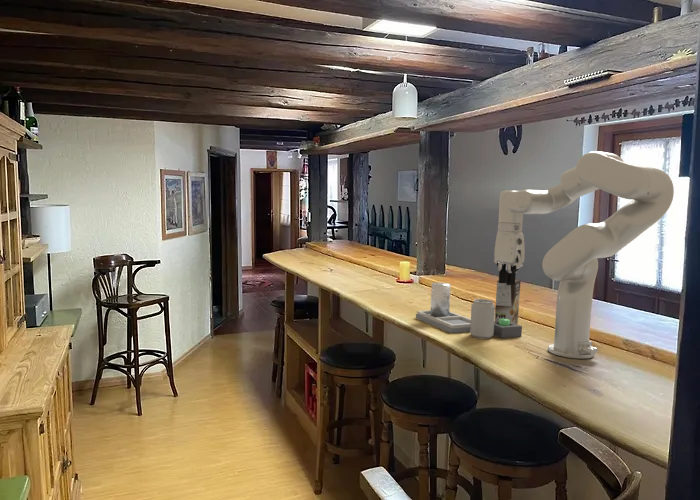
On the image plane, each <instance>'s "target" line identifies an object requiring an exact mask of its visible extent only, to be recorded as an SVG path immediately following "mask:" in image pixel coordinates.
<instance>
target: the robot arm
mask: <svg viewBox="0 0 700 500" xmlns="http://www.w3.org/2000/svg"><path fill="white" fill-rule="evenodd" d="M674 189H675V187H674V184H673V181H672V179H671V177H670V176H669V174H668V173H666V172H665V171H663V170H661V169H659V168H655V167H651V166H640V165H634V164H630V163H628V162H625V161H624V160H623V159H622V157H620V156H619V155H617V154H615V153H612V152H605V151H597V150H595V151H594V150H593V151H590V152H586V153H584V155H582V156H581V157H580V158H579V159H578V161H577V162H576V165H575V166H574V167H572V168H570V169H567V170H565V171H564V172H563V173H562V174H561V177H560V183H558V184H556V185H554V186H553V187H550V188H547V189H545V190H541V189H521V190H509V189H508V190H503V191H501V192H500V194H499V206H498V207H499V208H498V222H497V223H498V225H497V233H496V237H495V244H494V253H493V254H494V255H493V256H494V259H493V263H494V264H496V267H497V271H498V280H499V283H506V285H515V280H516V274H517V273H518V270H519V269H520V268H522V267H523V266H524V264H523V263H525V252H526V251H525V250H526V249H525V235H524V233H523V220H524V215H546V214H550V213H552V212H555V211H558V210H560V209H563V208H565V207H567V206H569V205H570V204H572V203H573V202H575V201H576V200H577V199H578V198H580V197H582V196H585V195H588V194H590V193H592V192H595V191H598V190H602V191H603V192H606V193H608V194H611V195H614V196H615V197H619V198H621V199H626V200H632V201H630V202H629V203H627V204H625V205H624V206H622V207H620V208H619V209H617V211H615V212H614V213H613V214H612V215H610V216H609V217H607V218H606V219H605V220H603V221H602V222H596V223H594V222H593V223H584V224H581V225H579V226H577V227H576V228H574V229H572V230H571V231H570V232H568V233H567V234H566V235H565V236H564V237H562V238H561V239H560V240H559V241H558V242H557V243H556V244H555V245H553V246H552V247H551V248H550V249H549V250H548V251H547V252H546V254H544V256H543V259H542V265H541V266H542V271H543V273H544V274H545V276H546V277H548V278H549V279H551V280H553V281H556V282H559V286H558V289H557V296H556V297H557V298H556V309H555V310H556V311H555V324H554V325H555V326H554V339H553V340H554V341H553V343H552V344H549V345H548V347H547V350H548V352H550V353H551V354H553V355H556V356H559V357H564V358H567V359H568V358H569V359H579V360H581V359H583V360H584V359H591V358H593V357H594V356H596V354H597V353H598V352H599V348H597V347H595V346H593V345H592V344H593V341H592V340H590V334H591V333H590V332H591V322H592V321H591V320H592V308H593V295H594V287H595V283H596V278H597V273H598V271H599V270H598V269H599V259H603V258H605V259H606V258H609V257H613V256H614V255H616V254H617V253H619V252H620V251H621V250H622V249H624V248H625V247H626V246H627V245H629V244H630V243H632V241H634V240H635V239H637V238H638V237H639V236H640V235H642V234H643V233H644V232H645V231H647V230H648V229H649V228H650V227H652V226H653V225H655V224H656V223H657V222H658V221H659V220H661V219H662V218H663V216H664V215H665V214H666V213H667V211H668V210H669V209H670V207H671V205H672V203H673V199H674V194H675V190H674Z"/></svg>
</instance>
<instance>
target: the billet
mask: <svg viewBox="0 0 700 500" xmlns="http://www.w3.org/2000/svg"><path fill="white" fill-rule="evenodd" d="M451 287H452V284H451V283H448V282H441V281H439V282H432V283H431V293H430V295H431V296H430V297H431V298H430V310H431V312H430V315H431V316H433V317H449V311H450V310H451V309H450V308H451V307H450V305H451V290H452V289H451Z"/></svg>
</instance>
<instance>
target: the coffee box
mask: <svg viewBox="0 0 700 500" xmlns="http://www.w3.org/2000/svg"><path fill="white" fill-rule="evenodd" d="M521 282H522V281H521V279H515V285H506V283H499V279H498V280H497V281H496V292H495V293H496V295H495V316H494V322H495V321H499V319H509V320H510V322H511V323H514V324H517V325H518V323H519V310H520V297H521Z"/></svg>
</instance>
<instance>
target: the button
mask: <svg viewBox="0 0 700 500" xmlns="http://www.w3.org/2000/svg"><path fill="white" fill-rule="evenodd" d="M499 325H502V326H510V320H509V319H499Z"/></svg>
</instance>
